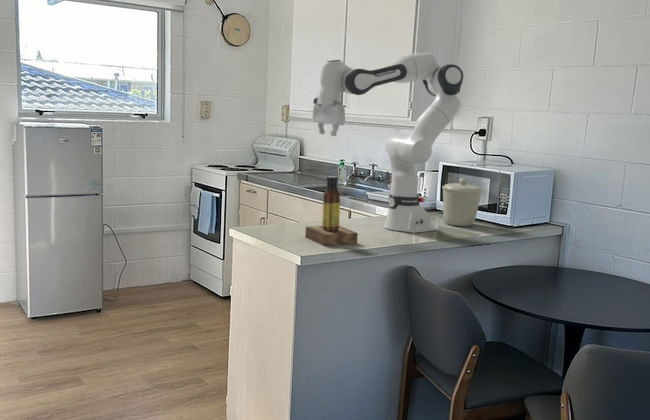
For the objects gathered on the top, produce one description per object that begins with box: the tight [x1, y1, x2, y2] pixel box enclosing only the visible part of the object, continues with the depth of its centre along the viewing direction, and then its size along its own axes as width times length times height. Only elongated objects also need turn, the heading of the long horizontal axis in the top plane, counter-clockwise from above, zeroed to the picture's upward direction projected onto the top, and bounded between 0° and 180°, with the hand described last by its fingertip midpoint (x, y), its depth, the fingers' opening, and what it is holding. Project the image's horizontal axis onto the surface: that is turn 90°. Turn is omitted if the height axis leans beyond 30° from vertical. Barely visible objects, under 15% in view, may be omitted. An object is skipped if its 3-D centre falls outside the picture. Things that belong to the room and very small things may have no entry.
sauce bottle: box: [321, 175, 341, 231], centre depth 235 cm, size 6×6×20 cm
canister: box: [441, 177, 484, 227], centre depth 287 cm, size 18×18×21 cm
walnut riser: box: [304, 225, 359, 247], centre depth 238 cm, size 14×14×4 cm
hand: (327, 135), depth 261 cm, fingers open, 8 cm apart
